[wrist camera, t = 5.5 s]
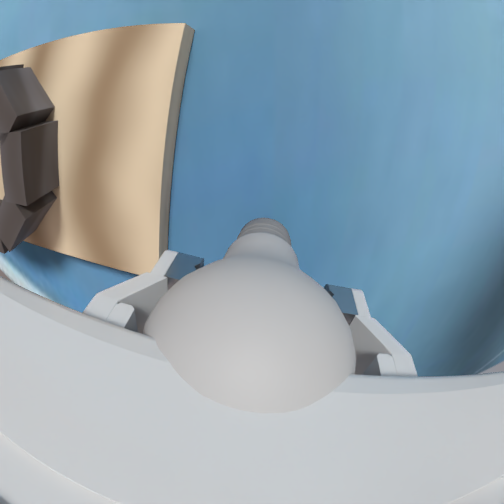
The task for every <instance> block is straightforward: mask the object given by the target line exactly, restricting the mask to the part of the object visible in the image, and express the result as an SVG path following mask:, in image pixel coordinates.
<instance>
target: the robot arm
mask: <svg viewBox="0 0 504 504" xmlns="http://www.w3.org/2000/svg"><path fill="white" fill-rule="evenodd" d="M202 267H204V258H200V257H196V256H192V255H188V254H184V253H180V252H179V253H178V252H175V251H171V250H166V251H164V253H163V254H162V256H161V257H160V259H159V260H158V262H157V263H156V265H155V266H154V268H153V269H152V271H151V272H150V273H148V272H146V273H144V274H141V275H139V276H136V277H134V278H132V279H129V280H127V281H125V282H122V283H120V284H118V285H115V286H113V287H111V288H108V289H106V290H104V291H101V292H99V293H97V294H96V295H95V296H94V298H93V299H92V300H91V302H90V303H89V304H88V306H87V307H86V309H85V310H84V311H83V313H81V312H78V311H75V310H73V309H70V308H68V307H66V306H63V305H61V304H58V303H56V302H54V301H51V300H49V299H47V298H44V297H42V296H40V295H38V294H36V293H33V292H31V291H29V290H27V289H25V288H23V287H21V286H19V285H17V284H15V283H13V282H11V281H9V280H7V279H5V278H3V277H1V276H0V504H504V372H495V373H485V374H473V375H458V376H426V377H418V376H417V373H416V369H415V366H414V363H413V360H412V356H411V354H410V353H409V352H408V351H407V350H406V349H405V348H404V347H403V346H402V345H401V344H400V343H399V342H398V341H397V340H396V339H395V338H394V337H393V336H392V335H391V334H390V333H389V332H388V331H387V330H386V329H385V328H384V327H383V326H382V325H381V324H380V323H379V322H378V321H377V320H376V319H375V318H371V316H370V313H369V309H368V306H367V303H366V300H365V297H364V293H363V291H362V290H359V289H353V288H345V287H340V286H334V285H329V284H326V285H325V287H324V289H325V290H326V291H327V292H328V293H329V294H330V295H331V297H332V298H333V299H334V300H335V301H336V303H337V304H338V306H339V308H340V310H341V312H342V313H343V315H344V317H345V319H346V321H347V323H348V325H349V327H350V329H351V332H352V337H353V342H354V347H355V354H356V368H355V374H350V375H348V377H347V378H346V380H345V381H343V382H342V383H341V384H340V385H339V386H338V387H337V388H335V389H334V390H333V391H332V392H331V393H329V394H328V395H327V396H325V397H323V398H322V399H320V400H318V401H316V402H314V403H313V404H311V405H309V406H307V407H305V408H302V409H299V410H295V411H290V412H284V413H257V412H249V411H243V410H239V409H235V408H232V407H228V406H225V405H222V404H220V403H218V402H215V401H213V400H211V399H209V398H207V397H204V396H203V395H201V394H199V393H198V392H197V391H196V390H195V389H194V388H192V387H191V386H190V385H189V384H188V383H187V382H186V381H185V380H183V379H182V378H181V377H180V375H179V374H178V373H177V372H176V371H175V369H174V368H173V367H172V365H171V363H170V362H169V361H168V360H167V358H166V357H165V356H164V355H163V353H162V352H161V351H160V349H159V348H158V346H157V343H156V340H155V339H154V338H153V337H151V336H148V335H144V334H143V331H144V326H145V323H146V321H147V319H148V317H149V316H150V314H151V312H152V310H153V308H154V307H155V305H156V304H157V302H158V301H159V299H160V298H161V297H162V296H163V295H164V294H165V293H166V292H167V291H168V290H169V289H170V288H171V287H172V286H173V285H174V284H175V283H177V282H178V281H179V280H180V279H181V278H183V277H184V276H185V275H187V274H189V273H191V272H193V271H195V270H197V269H199V268H202Z"/></svg>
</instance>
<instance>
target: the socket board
mask: <svg viewBox="0 0 504 504" xmlns="http://www.w3.org/2000/svg"><path fill="white" fill-rule="evenodd" d="M194 31H195V30H194V29H192V28H191V27H190V26H188V25H187V24H186V23H169V24H149V25H136V26H127V27H119V28H112V29H105V30H99V31H94V32H89V33H84V34H79V35H75V36H71V37H67V38H63V39H59V40H55V41H52V42H48V43H45V44H42V45H39V46H36V47H33V48H30V49H27V50H24V51H22V52H19V53H16V54H14V55H11V56H9V57H7V58H4V59H2V60H0V252H2V253H4V254H5V253H6V252H7V251H8V250H9V252H10V251H12V250H13V249H14V248H15V247H16V246H17V245H19V244H20V243H21V242H22V241H26V242H29V243H32V244H35V245H38V246H41V247H44V248H47V249H50V250H53V251H57V252H60V253H63V254H66V255H70V256H73V257H76V258H80V259H83V260H87V261H90V262H94V263H97V264H101V265H104V266H108V267H111V268H115V269H119V270H122V271H126V272H130V273H134V274H138V275H141V274H144V273H146V272H148V273H150V272H151V271H152V269H153V268H154V266H155V265H156V263H157V262H158V260H159V259H160V257H161V256H162V254H163V253H164V251H166V250H168V226H169V208H170V193H171V181H172V169H173V159H174V150H175V141H176V133H177V125H178V118H179V111H180V104H181V98H182V92H183V86H184V80H185V74H186V69H187V64H188V59H189V54H190V49H191V44H192V40H193V35H194Z"/></svg>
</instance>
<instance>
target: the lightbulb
mask: <svg viewBox="0 0 504 504" xmlns="http://www.w3.org/2000/svg"><path fill="white" fill-rule="evenodd" d="M143 334H144V335H148V336H151V337H153V338H154V339H155V340H156V343H157V346H158V348H159V349H160V351H161V352H162V353H163V355H164V356H165V357H166V358H167V360H168V361H169V362H170V363H171V365H172V367H173V368H174V369H175V371H176V372H177V373H178V374H179V375H180V377H181V378H182V379H183V380H185V381H186V382H187V383H188V384H189V385H190V386H191V387H192V388H194V389H195V390H196V391H197V392H198V393H199V394H201V395H203V396H204V397H207V398H209V399H211V400H213V401H215V402H218V403H220V404H222V405H225V406H228V407H232V408H235V409H239V410H243V411H249V412H257V413H284V412H290V411H295V410H299V409H302V408H305V407H307V406H309V405H311V404H313V403H314V402H316V401H318V400H320V399H322V398H323V397H325V396H327V395H328V394H329V393H331V392H332V391H333V390H334V389H335V388H337V387H338V386H339V385H340V384H341V383H342V382H343V381H345V380H346V378H347V377H348V375H350V374H355V368H356V354H355V347H354V342H353V337H352V332H351V329H350V327H349V325H348V323H347V321H346V319H345V317H344V315H343V313H342V312H341V310H340V308H339V306H338V304H337V303H336V301H335V300H334V299H333V298H332V297H331V295H330V294H329V293H328V292H327V291H326V290H325V289H324V288H323V287H322V286H321V285H319V284H318V283H317V282H316V281H315V280H313V279H312V278H311V277H310V276H308V275H307V274H305V273H304V272H302V271H301V270H300V269H299V264H298V259H297V256H296V254H295V252H294V250H293V249H292V247H291V240H290V236H289V234H288V231H287V230H286V228H285V227H284V226H283V225H282V224H281V223H279V222H278V221H276V220H273V219H269V218H258V219H254V220H252V221H250V222H248V223H247V224H246V225H245V226H244V227H243V228H242V230H241V232H240V234H239V236H238V237H237V240H236V241H235V242H233V243H232V244H231V246H230V247H229V248H228V250H227V252H226V254H225V256H224V258H223V259H222V260H218V261H215V262H213V263H211V264H208V265H206V266H204V267H202V268H199V269H197V270H195V271H193V272H191V273H189V274H187V275H185V276H184V277H183V278H181V279H180V280H179V281H178V282H177V283H175V284H174V285H173V286H172V287H171V288H170V289H169V290H168V291H167V292H166V293H165V294H164V295H163V296H162V297H161V298H160V299H159V301H158V302H157V304H156V305H155V307H154V308H153V310H152V312H151V314H150V316H149V317H148V319H147V321H146V323H145V326H144V331H143Z"/></svg>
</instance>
